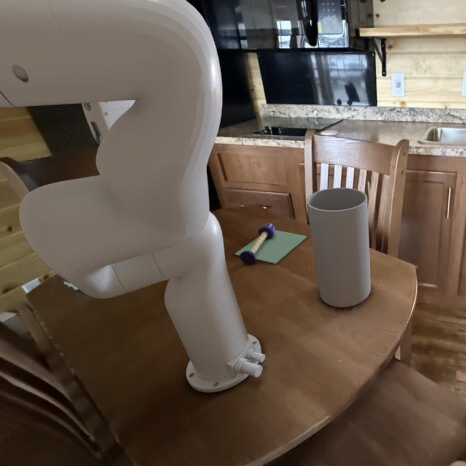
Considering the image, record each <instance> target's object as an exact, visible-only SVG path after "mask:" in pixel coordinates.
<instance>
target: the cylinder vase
mask: <svg viewBox="0 0 466 466" xmlns="http://www.w3.org/2000/svg"><path fill="white" fill-rule="evenodd" d="M306 209H307V215H308V223H309V229H310V237H311V244H312V251H313V256H314V263H315V270H316V276H317V277H316V278H317V285H318V292H319V296H320V298H321V300H322V301H323V302H324V303H326V304H327V305H329V306H331V307H334V308H335V307H336V308H349V307H354V306H356V305H358V304H361V303H362V302H364V301H365V300H366V299H367V298H368V297H369V295H370V293H371V289H372V285H371V284H372V283H371V257H370V255H371V254H370V235H369V232H370V231H369V210H368V209H369V208H368V196H367V193H365V192H363V191H362V190H359V189H357V188H351V187H331V188H324V189H321V190H317V191H315V192H313V193H311V194H309V196H307V198H306Z"/></svg>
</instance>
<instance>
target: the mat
mask: <svg viewBox="0 0 466 466" xmlns="http://www.w3.org/2000/svg"><path fill="white" fill-rule="evenodd" d="M259 237H260V236H258V237H257V238H255V239H254V240H252V241H251V242H249V243H248V244H247V245H245V246H243V247H242V248H241V249H239V250H238V251H236V252H235V253H234V256H238V257H240V254H241V253H242V252H243V251H246V250H248V251H249V250H250V249H251V247H253V245H254V244H255V242H256V241H257V239H258V238H259ZM307 237H308V236H307V235H302V234H297V233H293V232H287V231H283V230H278V229H275V231H274V236H273V237H272V238H271V239H268V240H267V239H265V240H264V241H263V242H262V243H261V245H260V246H259V248H258V249H257V251H256V252H255V256H256V260H255V261H259V262H263V263H269V264H271V265H276V264H277V263H279V261H280V260H282V259H283V258H284V257H285V256H286V255H288V254H289V253H290V252H291V251H293V250H294V249H295V248H296V247H297V246H298V245H300V244H301V243H302V242H303V241H304V240H306V238H307Z"/></svg>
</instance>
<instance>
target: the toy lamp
mask: <svg viewBox="0 0 466 466" xmlns="http://www.w3.org/2000/svg"><path fill="white" fill-rule="evenodd" d="M275 230H276V227H275V225H274V224H273V223H265V224H264V225H262V226H261V227H259V229H258V230H257V233H258V235H259V236H258V237H259V238H258V237H257V238H258V239H257V238H256V239H257V241H256V242H255V244H254V245H253V247H251V249H250V250H249V251H248V250H246V251H243V252H242V253H241V254H240V256H239V259H240V260H241V261H242V262H243V263H245V264H248V265H252V264H254V263H255V262H256V261H257V260H256V256H255V252H256V251H257V249H258V248H259V246H260V245H261V243H262V242H263V241H264V240H265V239H267V240H268V239H271V238H272V237H273V236H274V231H275Z"/></svg>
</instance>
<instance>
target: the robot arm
mask: <svg viewBox="0 0 466 466" xmlns="http://www.w3.org/2000/svg"><path fill="white" fill-rule="evenodd" d="M215 43H216V42H215V41H214V37H213V35H212V32H211V30H210V27H209V26H208V24H207V22H206V20H205V19H204V17H203V15H202V14H201V13H200V12H199V11H198V10H197V8H195V6H193V4H191V3H189V2H188V1H187V0H0V108H1V109H2V108H3V109H4V108H5V109H6V108H19V107H20V108H21V107H22V108H23V107H37V106H39V107H40V106H57V105H72V104H73V105H74V104H75V105H76V104H81V106H82V110H83V113H84V116H85V119H86V122H87V124H88V126H89V130H90V131H91V134H92V136H93V138H94V140H95V141H96V143H97V144H98V145H99V146H98V148H97V151H96V156H95V165H96V166H95V167H96V169H97V172H98V173H99V174H97V175H92V176H86V177H80V178H74V179H68V180H62V181H57V182H52V183H49V184H44V185H42V186H39V187H36V188H35V189H33V190H31V191H29V192H28V193H27V194H26V195H25V196H24V197H23V199H22V200H21V202H20V205H19V210H18V217H19V218H18V219H19V224H20V228H21V231H22V233H23V235H24V238H25V239H26V242H27V243H28V245H29V246H30V248H31V249H32V251H33V252H34V253H35V254H36V256H37V257H38V258H39V259H40V261H42V262H43V264H44V265H45V266H47V267H48V268H49V269H50V270H52V271H53V272H54V273H55V274H57V275H58V276H59V277H61V278H62V279H64V280H65V281H67V282H68V283H69V284H71V285H72V286H74V287H75V288H76V289H78V290H79V291H81V292H83V293H84V294H86V295H87V296H89V297H91V298H95V299H99V300H100V299H102V300H103V299H105V300H106V299H112V298H116V297H120V296H122V295H125V294H128V293H132V292H134V291H137V290H139V289H140V290H141V289H143V288H147V287H149V286H152V285H155V284H158V283H160V282H163V281H168V282H167V283H166V287H165V290H164V296H163V302H164V306H165V309H166V311H167V314H168V315H169V318H170V320H171V322H172V324H173V326H174V328H175V330H176V333H177V335H178V337H179V339H180V341H181V343H182V346H183V347H184V349H185V351H186V354H187V356H188V358H189V362H188V364H187V366H186V369H185V376H186V377H185V378H186V380H187V382H188V384H189V385H190V386H191V387H192V388H193V389H194V390H196V391H197V392H201V393H216V392H217V393H218V392H221V391H224V390H227V389H231V388H232V387H234V386H236V385H238V384H239V383H242V381H245V379H247V378H248V377H249V376H251V377H254V378H259V377H260V376H261V374H262V373H263V370H264V368H263V366H262V365H260V364H259V363H263V362H264V361H265V360H266V354H264V353H262V351H263V350H262V346H261V344H260V341H259V339H258V338H256V337H255V336H254V335H253V334H250V333H248V331H247V328H246V325H245V322H244V319H243V316H242V312H241V310H240V306H239V302H238V301H237V297H236V293H235V291H234V288H233V284H232V281H231V277H230V274H229V270H228V265H227V261H226V256H225V255H226V254H225V246H224V245H225V244H224V236H223V231H222V227H221V225H220V222H219V220H218V219H217V217H216V215H215V214H214V213H212V212H211V211H210V198H209V197H210V196H209V183H208V174H207V173H208V172H207V166H208V162H209V158H210V155H211V153H212V150H213V148H214V145H215V142H216V139H217V136H218V133H219V128H220V124H221V119H222V109H223V81H222V72H221V66H220V59H219V55H218V50H217V47H216V44H215Z"/></svg>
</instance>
